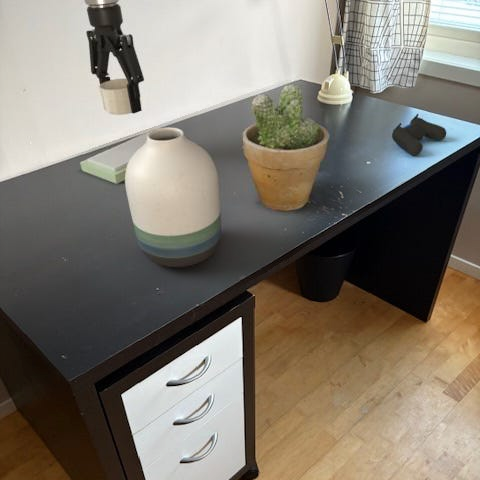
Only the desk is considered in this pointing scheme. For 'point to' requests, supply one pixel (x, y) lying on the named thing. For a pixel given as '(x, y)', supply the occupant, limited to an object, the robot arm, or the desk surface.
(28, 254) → the desk surface
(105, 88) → the beige cup
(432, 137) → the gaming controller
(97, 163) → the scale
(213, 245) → the vase
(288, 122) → the potted plant
